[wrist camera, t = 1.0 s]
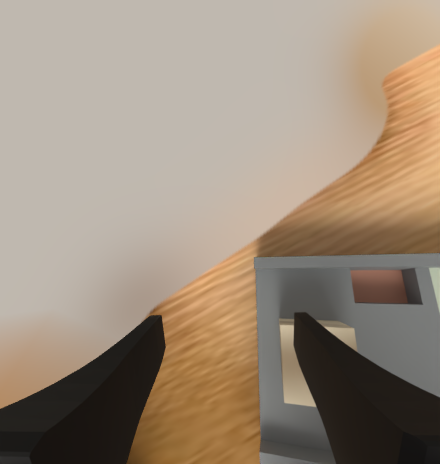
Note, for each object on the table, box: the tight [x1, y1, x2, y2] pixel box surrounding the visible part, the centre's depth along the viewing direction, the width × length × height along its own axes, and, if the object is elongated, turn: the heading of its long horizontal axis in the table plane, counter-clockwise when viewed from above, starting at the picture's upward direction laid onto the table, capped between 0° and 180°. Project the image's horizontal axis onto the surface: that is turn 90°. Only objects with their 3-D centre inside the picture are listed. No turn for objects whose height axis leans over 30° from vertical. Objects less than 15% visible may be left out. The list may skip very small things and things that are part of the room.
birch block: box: [279, 318, 357, 407], centre depth 17 cm, size 5×5×4 cm
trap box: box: [254, 253, 440, 464], centre depth 17 cm, size 16×27×4 cm, turn 90°
